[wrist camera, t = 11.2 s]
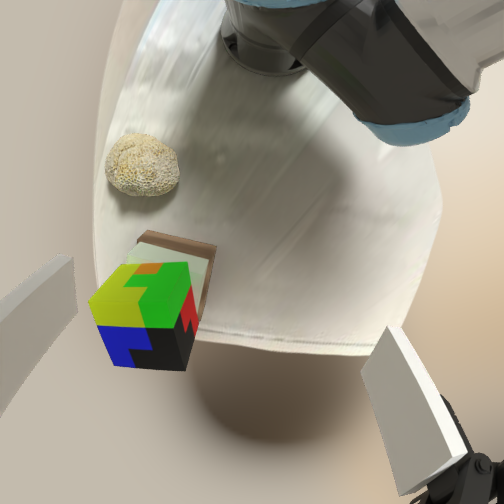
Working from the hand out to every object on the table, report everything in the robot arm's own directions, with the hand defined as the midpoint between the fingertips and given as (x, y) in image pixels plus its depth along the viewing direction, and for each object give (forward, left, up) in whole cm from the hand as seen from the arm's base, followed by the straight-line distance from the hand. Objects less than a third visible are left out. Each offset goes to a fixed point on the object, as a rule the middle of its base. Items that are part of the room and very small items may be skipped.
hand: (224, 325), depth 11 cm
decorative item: (+1, -16, -35) cm, 39 cm away
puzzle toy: (+17, -9, -25) cm, 32 cm away
